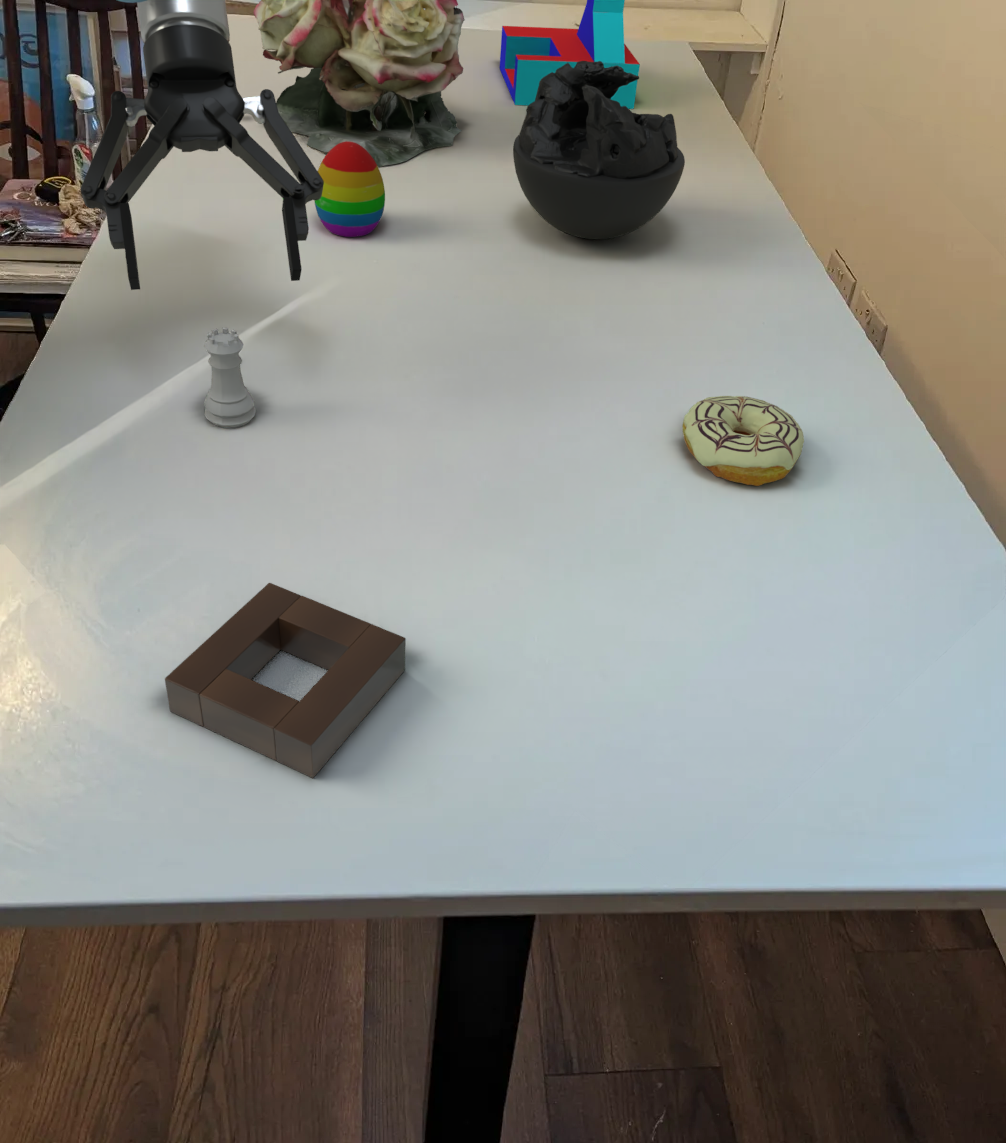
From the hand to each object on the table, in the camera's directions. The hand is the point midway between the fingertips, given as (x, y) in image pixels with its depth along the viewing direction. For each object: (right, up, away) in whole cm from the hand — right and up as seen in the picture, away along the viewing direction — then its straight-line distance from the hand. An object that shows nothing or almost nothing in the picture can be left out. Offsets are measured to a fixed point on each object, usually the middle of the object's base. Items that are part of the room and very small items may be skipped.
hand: (216, 280), depth 97 cm
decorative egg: (+7, +15, +36) cm, 40 cm away
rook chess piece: (+1, -12, +3) cm, 12 cm away
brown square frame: (+11, -33, -22) cm, 41 cm away
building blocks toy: (+34, +55, +87) cm, 109 cm away
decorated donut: (+46, -15, +4) cm, 48 cm away
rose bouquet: (+7, +37, +62) cm, 73 cm away
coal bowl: (+35, +16, +40) cm, 56 cm away
